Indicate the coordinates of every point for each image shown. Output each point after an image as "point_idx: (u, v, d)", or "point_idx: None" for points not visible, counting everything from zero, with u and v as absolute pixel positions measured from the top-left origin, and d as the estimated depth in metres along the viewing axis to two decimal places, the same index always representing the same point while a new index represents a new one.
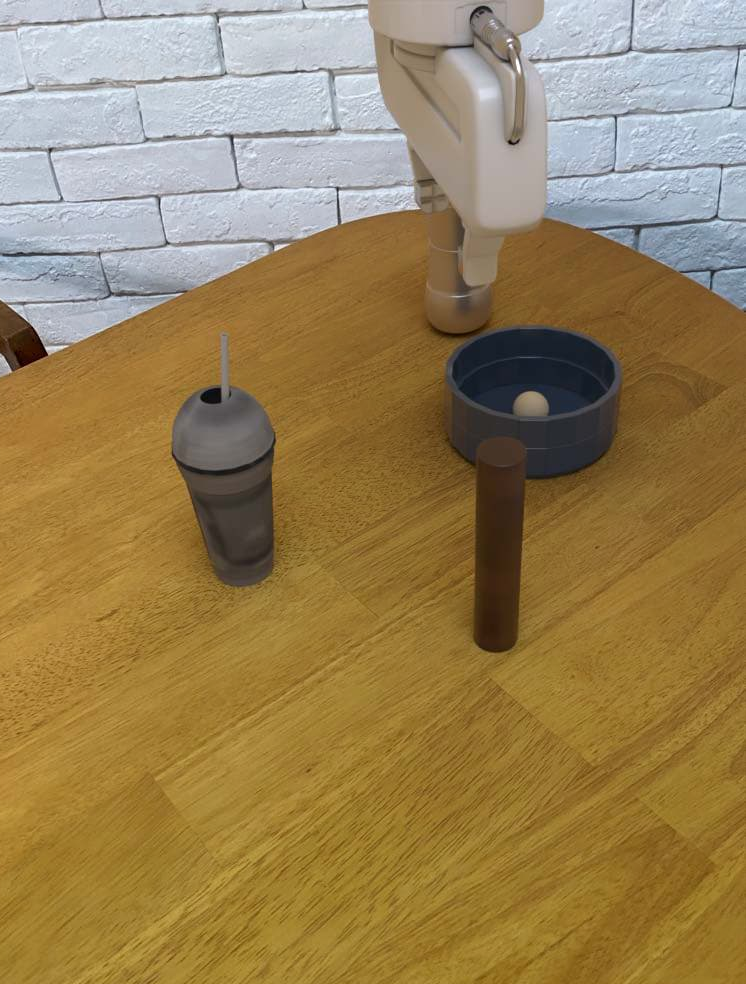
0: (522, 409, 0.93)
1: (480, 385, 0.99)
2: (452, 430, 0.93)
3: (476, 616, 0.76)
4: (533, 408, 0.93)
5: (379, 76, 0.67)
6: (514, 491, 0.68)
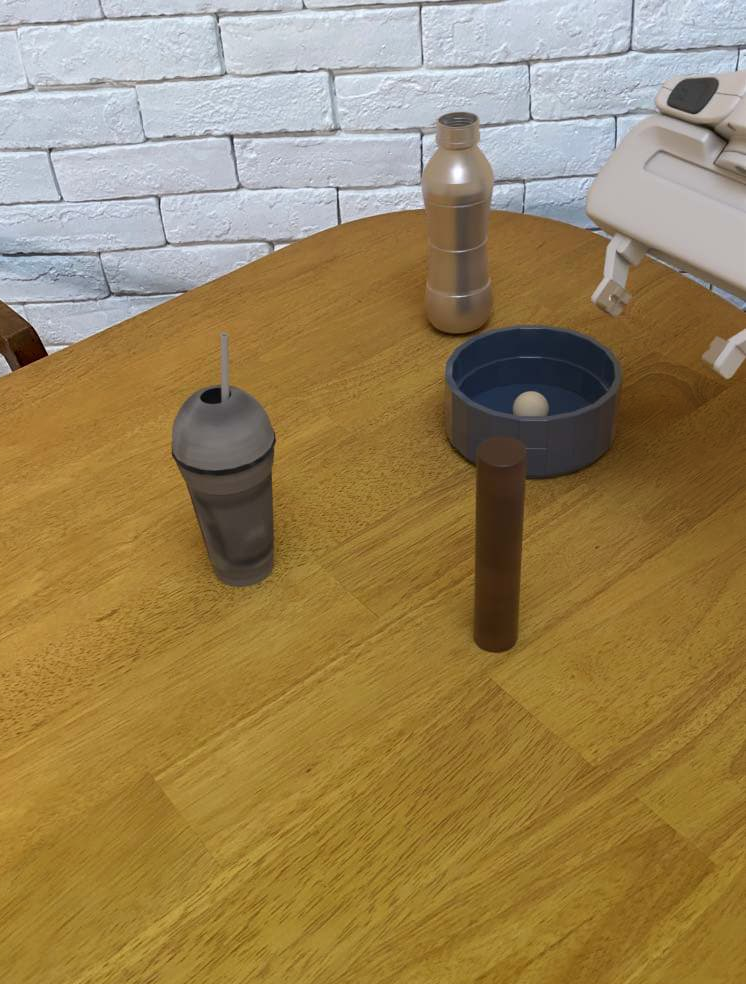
0: (522, 409, 0.93)
1: (480, 385, 0.99)
2: (452, 430, 0.93)
3: (476, 616, 0.76)
4: (533, 408, 0.93)
5: (600, 183, 0.74)
6: (514, 491, 0.68)
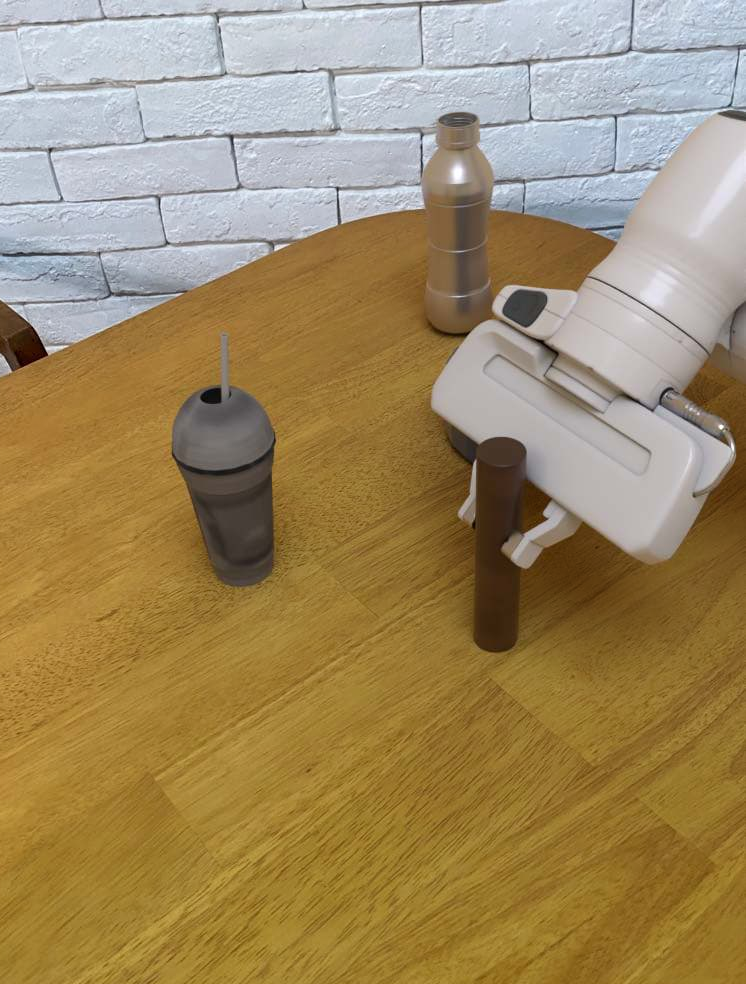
0: None
1: None
2: (452, 430, 0.93)
3: (476, 616, 0.76)
4: None
5: (443, 381, 0.75)
6: (514, 491, 0.68)
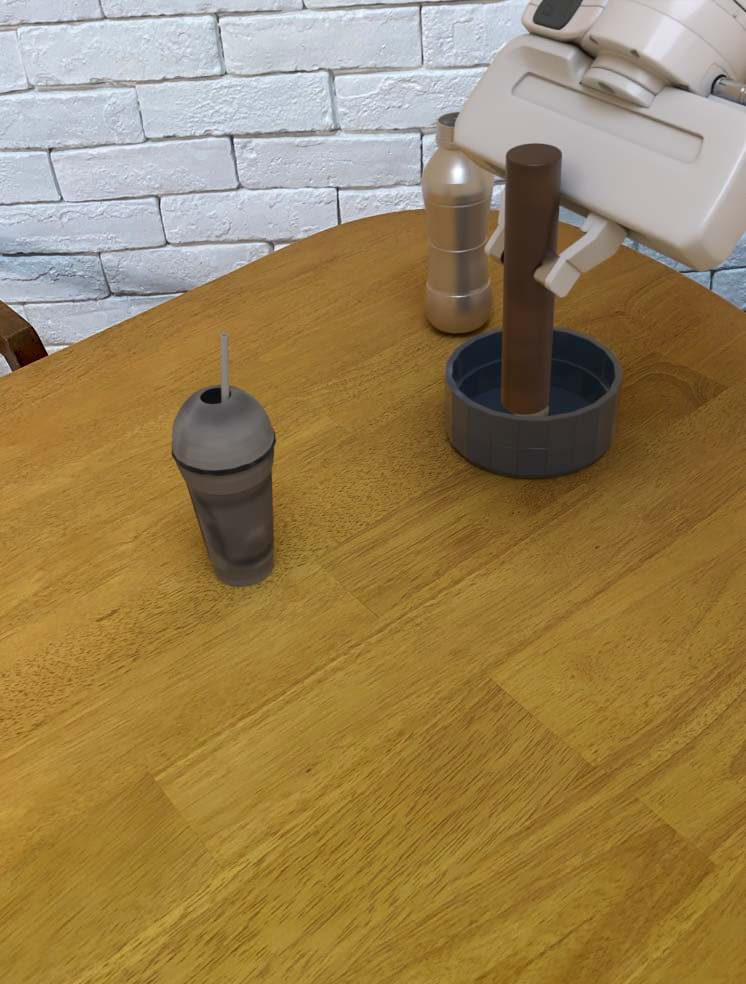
0: None
1: (480, 385, 0.99)
2: (452, 430, 0.93)
3: (504, 372, 0.69)
4: None
5: (467, 111, 0.68)
6: (548, 200, 0.61)
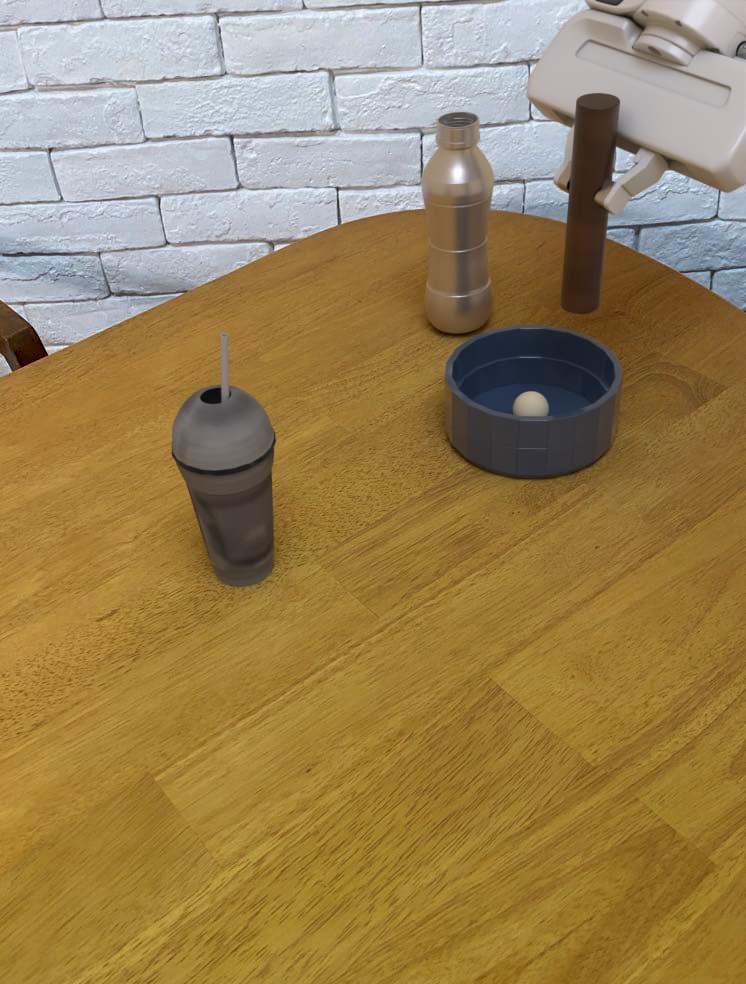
0: (522, 409, 0.93)
1: (480, 385, 0.99)
2: (452, 430, 0.93)
3: (565, 279, 0.87)
4: (533, 408, 0.93)
5: (538, 70, 0.86)
6: (609, 136, 0.79)
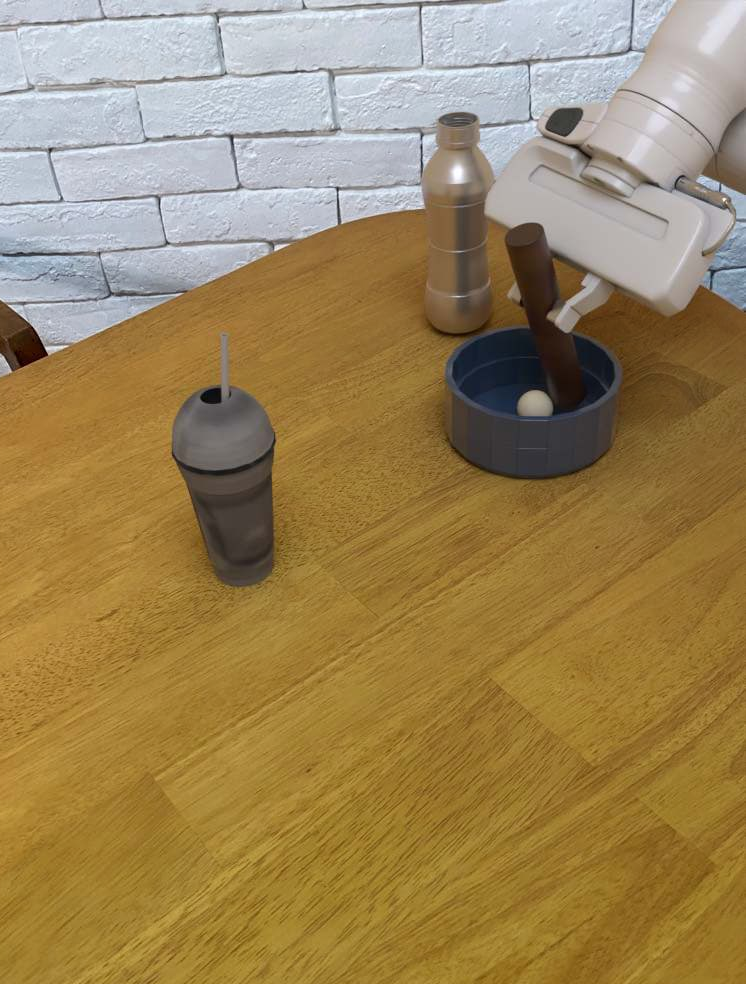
0: (530, 405, 0.93)
1: (480, 385, 0.99)
2: (452, 430, 0.93)
3: (545, 379, 0.93)
4: (541, 405, 0.93)
5: (495, 191, 0.91)
6: (538, 265, 0.84)
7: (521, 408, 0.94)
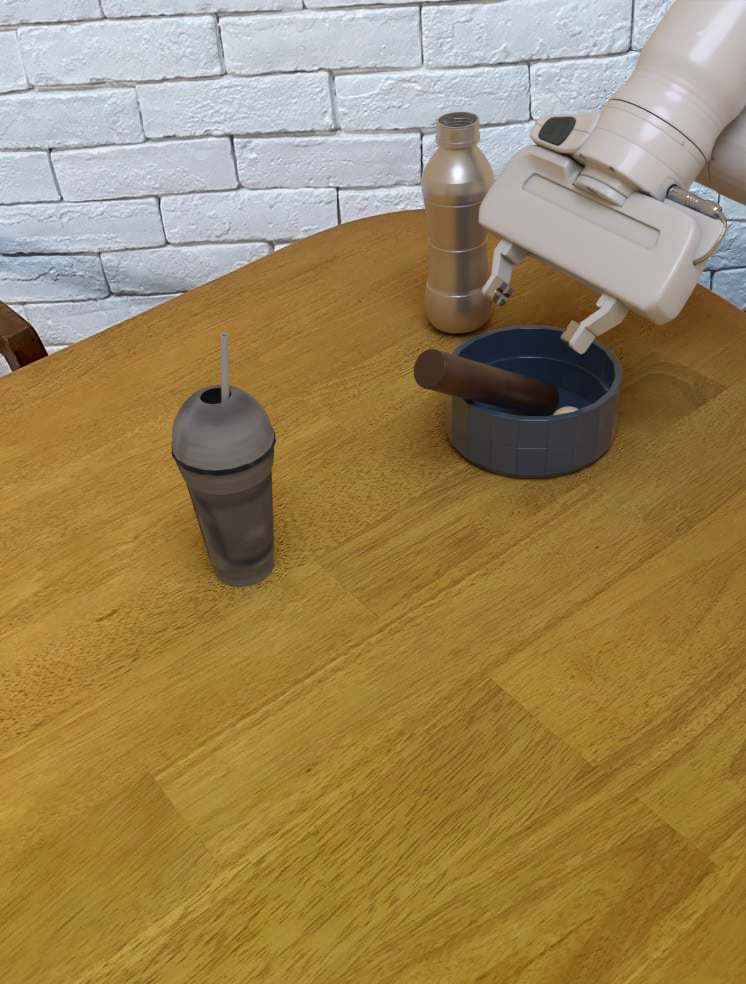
0: None
1: None
2: (452, 430, 0.93)
3: None
4: None
5: (489, 199, 0.92)
6: (458, 383, 0.85)
7: None
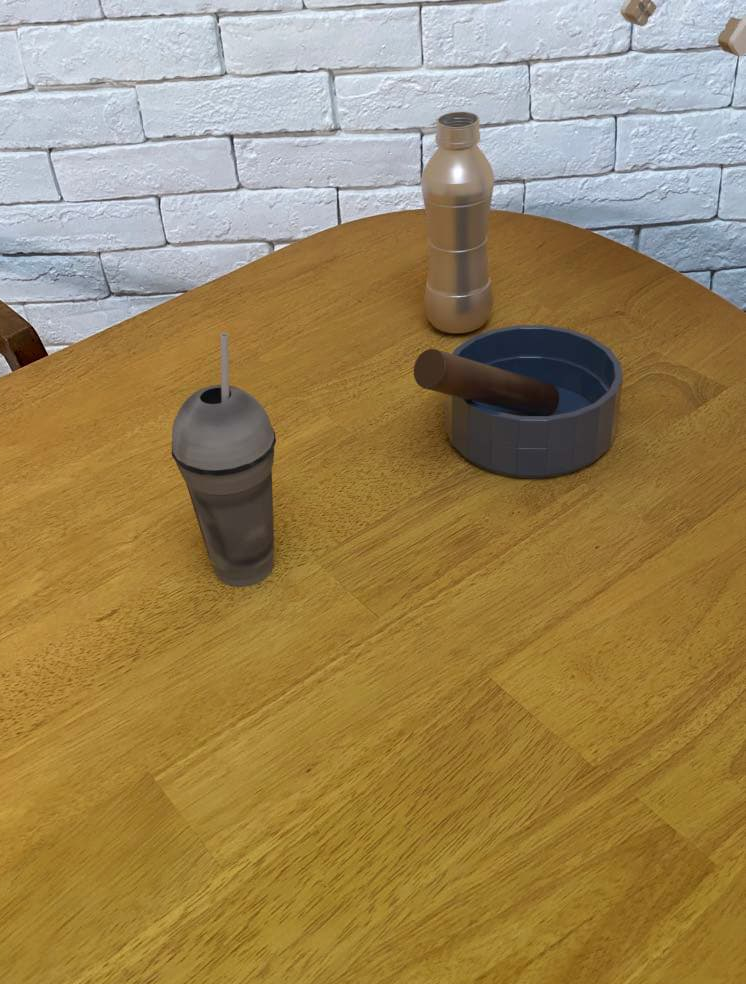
0: None
1: None
2: (452, 430, 0.93)
3: None
4: None
5: None
6: (458, 383, 0.85)
7: None
